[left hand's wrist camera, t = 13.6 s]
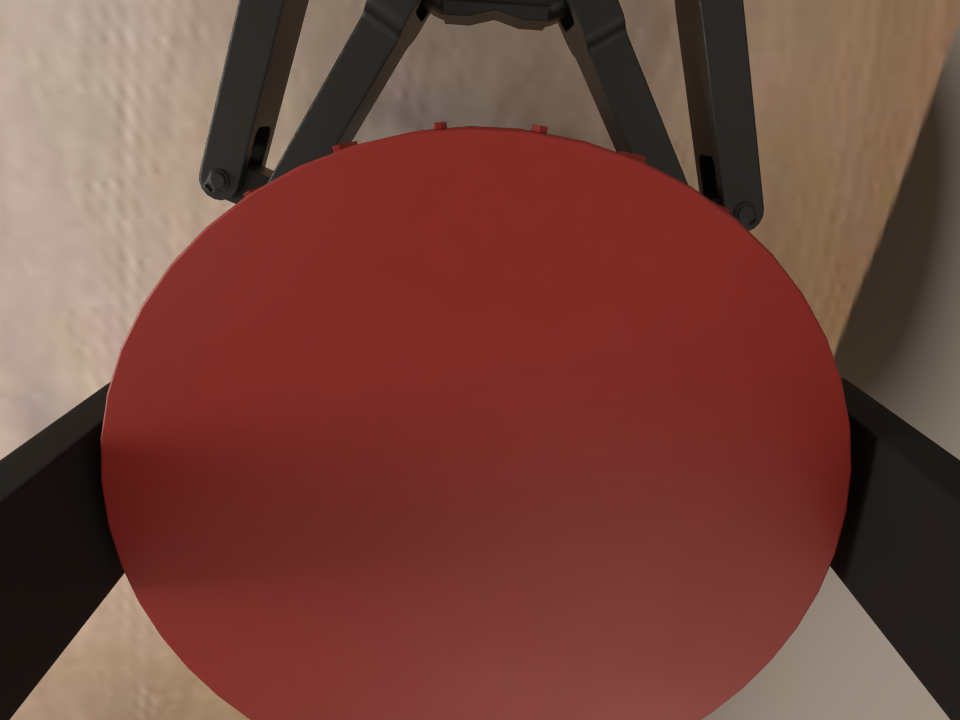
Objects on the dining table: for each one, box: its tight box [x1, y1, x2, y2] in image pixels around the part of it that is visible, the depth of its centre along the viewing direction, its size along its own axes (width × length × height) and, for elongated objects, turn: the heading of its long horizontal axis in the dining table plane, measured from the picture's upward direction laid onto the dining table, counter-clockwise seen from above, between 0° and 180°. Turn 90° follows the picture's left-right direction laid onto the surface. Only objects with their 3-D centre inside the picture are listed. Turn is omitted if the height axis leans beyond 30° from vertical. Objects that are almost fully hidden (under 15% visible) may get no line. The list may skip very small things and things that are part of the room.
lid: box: [101, 122, 851, 720], centre depth 11 cm, size 12×12×2 cm
